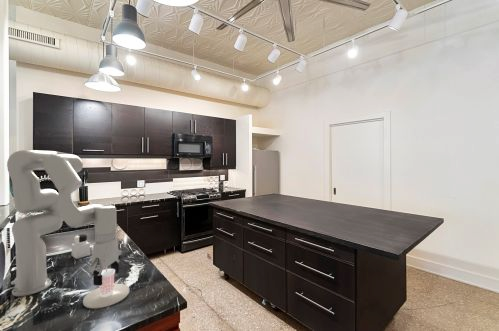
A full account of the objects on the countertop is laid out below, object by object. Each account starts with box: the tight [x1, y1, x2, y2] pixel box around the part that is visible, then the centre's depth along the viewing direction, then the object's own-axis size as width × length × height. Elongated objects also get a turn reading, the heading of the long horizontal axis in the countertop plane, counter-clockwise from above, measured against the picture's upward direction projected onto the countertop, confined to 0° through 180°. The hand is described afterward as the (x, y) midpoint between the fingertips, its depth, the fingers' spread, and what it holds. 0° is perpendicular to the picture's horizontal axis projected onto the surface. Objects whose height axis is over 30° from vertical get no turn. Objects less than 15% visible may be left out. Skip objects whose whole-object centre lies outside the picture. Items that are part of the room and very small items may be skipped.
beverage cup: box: [98, 266, 116, 297], centre depth 95 cm, size 6×6×14 cm
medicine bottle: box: [71, 233, 91, 260], centre depth 137 cm, size 7×7×12 cm
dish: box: [82, 283, 130, 309], centre depth 95 cm, size 16×16×1 cm
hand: (106, 278), depth 95 cm, fingers open, 9 cm apart
